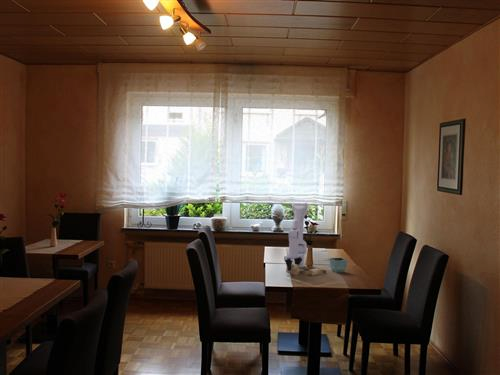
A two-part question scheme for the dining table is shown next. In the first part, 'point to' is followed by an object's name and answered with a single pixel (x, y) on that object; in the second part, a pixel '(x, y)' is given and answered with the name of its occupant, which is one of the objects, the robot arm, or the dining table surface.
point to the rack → (305, 271)
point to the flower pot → (338, 264)
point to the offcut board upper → (315, 270)
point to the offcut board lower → (317, 273)
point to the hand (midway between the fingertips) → (293, 270)
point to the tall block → (293, 269)
